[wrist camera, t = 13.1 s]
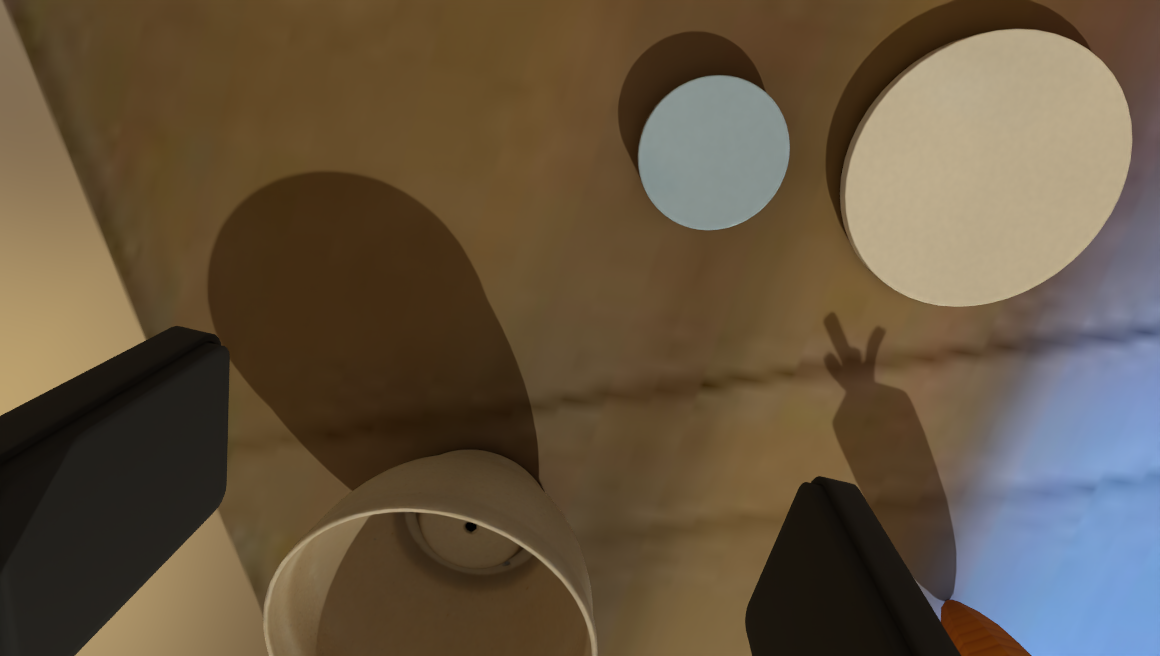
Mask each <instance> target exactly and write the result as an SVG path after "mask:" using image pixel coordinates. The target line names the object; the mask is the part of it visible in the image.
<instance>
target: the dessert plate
mask: <svg viewBox="0 0 1160 656" xmlns="http://www.w3.org/2000/svg"><path fill="white" fill-rule="evenodd" d="M1131 150H1132V124H1131V118H1130V113H1129V108H1128V104H1127V102H1126V99H1125V96H1124V94H1123V91H1122V89H1121V87H1120V85H1119V83H1118V82H1117V80H1116V78H1115V77H1114V75H1113V73H1112V72H1111V71H1110V70H1109V69H1108V67H1107V66H1106V65H1105V64H1104V63H1103V61H1102V60H1100V59H1099V58H1098V57H1097V56H1096V55H1094V54H1093V53H1092V52H1091V51H1090V50H1089V49H1087V48H1085V47H1084V46H1082V45H1080V44H1078V43H1077V42H1075V41H1073V40H1071V39H1069V38H1066V37H1063V36H1061V35H1058V34H1055V33H1051V32H1046V31H1041V30H1035V29H1018V28H1016V29H1004V30H995V31H989V32H984V33H980V34H975V35H971V36H967V37H964V38H961V39H958V40H956V41H953V42H950V43H948V44H946V45H944V46H942V47H939V48H937V49H935V50H933V51H931V52H930V53H928V54H926V55H925V56H923V57H922V58H920V59H919V60H917V61H916V62H914V63H912V64H911V65H910V66H909V67H908V68H906V69H905V70H904V71H903V72H901V73H900V74H899V75H898V76H896V78H895V79H894V80H893V81H892V82H891V83H890V84H889V85H888V86H887V87H886V88H885V89H884V90H883V91H882V92H881V93H880V94H879V96H878V97H877V98H876V99H875V101H874V102H873V103H872V105H871V106H870V107H869V109H868V110H867V112H866V113H865V115H864V117H863V118H862V120H861V122H860V123H859V125H858V127H857V129H856V131H855V133H854V136H853V138H852V140H851V142H850V145H849V148H848V151H847V154H846V157H845V160H844V165H843V170H842V175H841V186H840V204H841V214H842V218H843V223H844V227H845V230H846V233H847V236H848V239H849V241H850V243H851V245H852V247H853V249H854V251H855V252H856V254H857V256H858V257H859V258H860V260H861V261H862V262H863V264H864V265H865V266H866V267H867V268H868V269H869V270H870V271H871V272H872V273H873V274H874V275H875V276H876V277H877V278H878V279H880V280H881V281H883V282H884V283H885V284H887V285H888V286H890V287H891V288H893V289H894V290H896V291H898V292H900V293H902V294H904V295H906V296H907V297H910V298H913V299H916V300H919V301H921V302H925V303H930V304H935V305H941V306H955V307H958V306H975V305H981V304H987V303H992V302H996V301H999V300H1003V299H1007V298H1010V297H1012V296H1015V295H1017V294H1020V293H1022V292H1025V291H1027V290H1029V289H1031V288H1033V287H1035V286H1037V285H1038V284H1040V283H1042V282H1044V281H1045V280H1047V279H1048V278H1050V277H1051V276H1053V275H1054V274H1056V273H1057V272H1059V271H1060V270H1061V269H1063V268H1064V267H1065V266H1066V265H1068V264H1069V263H1070V262H1071V261H1072V260H1074V259H1075V258H1076V257H1077V256H1078V255H1079V254H1080V253H1081V252H1082V251H1083V250H1084V249H1085V248H1086V247H1087V246H1088V245H1089V243H1090V242H1091V241H1092V240H1093V238H1094V237H1095V236H1096V235H1097V234H1098V232H1099V231H1100V230H1101V228H1102V227H1103V225H1104V224H1105V222H1106V221H1107V219H1108V217H1109V216H1110V214H1111V213H1112V211H1113V209H1114V207H1115V205H1116V203H1117V201H1118V199H1119V197H1120V194H1121V191H1122V189H1123V186H1124V183H1125V180H1126V177H1127V173H1128V169H1129V164H1130V160H1131Z"/></svg>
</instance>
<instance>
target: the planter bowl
mask: <svg viewBox="0 0 1160 656" xmlns="http://www.w3.org/2000/svg"><path fill="white" fill-rule="evenodd" d="M468 522H472V523H474V524H476V529H475V530H474V531H472V532H471V531H469V530H467V529H466V527H465V525H466V523H468ZM263 623H264V635H265V642H266V645H267V650H268V654H269V656H597V635H596V628H595V622H594V618H593V608H592V595H591V588H590V582H589V577H588V573H587V569H586V565H585V561H584V558H583V555H582V552H581V549H580V546H579V544H578V541H577V539H576V537H575V535H574V533H573V531H572V529H571V527H570V525H569V524H568V522H567V520H566V519H565V517H564V515H563V514H562V512H561V511H560V510H559V508H558V507H557V506H556V504H555V503H554V502H553V501H552V500H551V499H550V497H549V496H548V495H547V494H546V493H545V492H544V491H543V490H542V489H541V487H540V486H539V484H538V483H537V481H536V480H535V479H534V478H533V477H532V476H531V475H530V474H529V473H528V472H527V471H526V470H525V469H524V468H522V467H521V466H520V465H518V464H517V463H515V462H513V461H512V460H510V459H508V458H505V457H503V456H501V455H498V454H495V453H491V452H487V451H482V450H456V451H451V452H447V453H444V454H441V455H436V456H430V457H424V458H420V459H416V460H413V461H410V462H406V463H404V464H401V465H398V466H396V467H393V468H391V469H389V470H387V471H385V472H383V473H381V474H379V475H377V476H375V477H373V478H372V479H370V480H368V481H367V482H365V483H363V484H362V485H361V486H359V487H358V488H356V489H355V490H353V491H352V492H351V493H350V494H348V495H347V496H346V497H345V498H343V499H342V500H341V501H340V502H339V503H338V504H337V505H335V506H334V507H333V508H332V509H331V510H330V511H329V512H328V513H327V514H326V515H325V516H324V517H323V518H322V519H321V520H320V521H319V523H318V524H317V525H316V526H315V527H314V528H313V529H311V530H310V531H309V532H308V533H306V534H305V535H304V536H303V537H302V538H301V539H300V540H299V541H298V542H297V543H296V544H295V546H294V547H293V548H292V549H291V550H290V551H289V552H288V554H287V555H286V556H285V558H284V559H283V560H282V562H281V563H280V565H279V566H278V568H277V569H276V571H275V573H274V575H273V577H272V580H271V582H270V584H269V587H268V590H267V593H266V598H265V603H264V614H263Z"/></svg>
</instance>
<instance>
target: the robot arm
mask: <svg viewBox="0 0 1160 656" xmlns="http://www.w3.org/2000/svg"><path fill="white" fill-rule="evenodd" d="M229 360H230V357H229V351H228V349H227V348H226V347H225V346H221V342H220V340H219V338H218V337H217V336H216V335H214V334H210V333H206V332H202V331H197V330H193V329H189V328H185V327H180V326H175V327H171V328H169V329H167V330H165V331H163V332H161V333H160V334H158V335H156V336H154V337H152V338H150V339H148V340H146V341H144V342H142V343H140V344H138V345H136V346H134V347H133V348H131V349H129V350H127V351H125V352H123V353H121V354H119V355H117V356H116V357H113V358H111V359H109V360H107V361H105V362H104V363H102V364H100V365H98V366H96V367H94V368H92V369H90V370H88V371H86V372H84V373H82V374H80V375H79V376H76V377H75V378H73V379H71V380H69V381H67V382H65V383H63V384H61V385H59V386H57V387H55V388H53V389H52V390H49V391H48V392H46V393H44V394H42V395H40V396H38V397H36V398H34V399H32V400H30V401H28V402H26V403H24V404H22V405H20V406H19V407H17V408H15V409H13V410H11V411H9V412H7V413H5V414H3V415H1V416H0V656H74V655H76V654H77V653H78V652H79V650H80V649H81V648H82V647H83V646H84V645H85V644H86V643H87V642H88V641H89V640H90V639H91V638H92V637H93V636H94V635H95V634H96V633H97V632H98V631H99V630H100V629H101V628H102V627H103V626H104V625H105V624H106V623H107V621H109V620H110V618H112V617H113V615H114V614H115V613H116V612H117V611H118V610H119V609H120V608H121V607H122V606H123V605H124V604H125V603H126V602H127V601H128V600H129V599H130V598H131V597H132V596H133V595H134V594H135V593H136V592H137V591H138V590H139V588H141V587H142V586H143V585H144V583H146V581H147V580H148V579H149V578H150V577H151V576H152V575H153V574H154V573H155V572H156V571H157V570H158V569H159V568H160V567H161V566H162V565H163V564H164V563H165V562H166V561H167V560H168V559H169V558H170V557H171V556H172V555H173V554H174V553H175V551H177V550H178V549H179V547H180V546H181V545H182V544H183V543H184V542H185V541H186V540H187V539H188V538H189V537H190V536H191V535H192V534H193V533H194V532H195V531H196V530H197V529H198V528H199V527H200V526H201V525H202V524H203V523H204V521H206V520H207V519H208V518H209V517H210V516H211V514H212V513H213V512H214V511H215V510H216V509H217V508H218V507H219V505H220V503H221V502H222V499H223V497H224V494H225V491H226V481H227V441H228V401H229ZM745 625H746V632H747V636H748V640H749V644H750V648H751V652H752V656H961V654H960V653H959V651H958V649H957V648H956V646H955V645H954V643H953V641H952V640H951V638H950V636H949V635H948V633H947V632H946V630H945V628H944V627H943V625H942V623H941V622H940V620H939V619H938V617H937V615H936V614H935V612H934V610H933V609H932V607H931V606H930V604H929V602H928V601H927V599H926V597H925V596H924V594H923V593H922V591H921V589H920V588H919V586H918V584H917V583H916V581H915V580H914V578H913V576H912V575H911V573H910V571H909V570H908V568H907V567H906V565H905V563H904V562H903V560H902V558H901V557H900V555H899V554H898V552H897V550H896V549H895V547H894V545H893V544H892V542H891V541H890V539H889V537H888V536H887V534H886V532H885V531H884V529H883V528H882V526H881V524H880V523H879V521H878V519H877V518H876V516H875V515H874V513H873V511H872V510H871V508H870V506H869V505H868V503H867V502H866V500H865V498H864V497H863V495H862V493H861V492H860V490H859V489H858V487H857V486H856V485H854V484H851V483H847V482H842V481H838V480H834V479H830V478H825V477H821V476H818V477H816V478H815V479H814V480H813V481H812V482H811V483H808V482H805V483H803V484H802V485H801V486H800V487H799V489H798V491H797V493H796V496H795V498H794V500H793V503H792V505H791V507H790V510H789V512H788V514H787V516H786V519H785V521H784V523H783V526H782V528H781V530H780V532H779V535H778V537H777V539H776V542H775V544H774V546H773V549H772V551H771V553H770V555H769V558H768V560H767V562H766V565H765V567H764V569H763V572H762V574H761V576H760V578H759V581H758V583H757V585H756V588H755V590H754V592H753V594H752V597H751V599H750V601H749V604H748V607H747V611H746V618H745Z"/></svg>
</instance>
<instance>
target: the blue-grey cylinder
mask: <svg viewBox="0 0 1160 656" xmlns="http://www.w3.org/2000/svg"><path fill="white" fill-rule="evenodd" d="M789 153H790V142H789V133H788V129H787V125H786V122H785V119H784V116H783V115H782V113H781V111H780V109H779V107H778V106H777V104H776V103H775V102H774V100H773V99H772V98H771V97H770V96H769V95H768V94H767V93H766V92H765V91H764V90H762V89H761V88H760V87H758V86H757V85H755V84H753V83H751V82H750V81H747V80H744V79H742V78H739V77H734V76H729V75H709V76H704V77H699V78H696V79H693V80H690V81H687V82H685V83H683V84H681V85H679V86H677V87H676V88H674V89H673V90H671V91H670V92H668V93H667V94H666V95H665V96H664V97H663V98H662V99H661V100H660V101H659V102H658V103H657V104H656V105H655V107H654V108H653V109H652V111H651V112H650V114H649V115H648V117H647V119H646V121H645V123H644V125H643V128H642V131H641V134H640V138H639V143H638V151H637V161H638V169H639V174H640V177H641V181H642V184H643V187H644V189H645V191H646V193H647V195H648V196H649V198H650V200H651V201H652V203H653V204H654V205H655V206H656V207H657V209H659V210H660V211H661V212H662V213H663V214H664V215H665V216H667V217H668V218H670V219H671V220H673V221H674V222H676V223H678V224H680V225H683V226H686V227H689V228H693V229H698V230H718V229H724V228H728V227H731V226H735V225H737V224H739V223H742V222H744V221H746V220H747V219H749V218H751V217H752V216H754V215H755V214H756V213H758V212H759V211H760V210H761V209H762V208H763V207H764V206H765V205H766V204H767V203H768V202H769V201H770V200H771V199H772V197H773V196H774V195H775V193H776V192H777V190H778V188H779V187H780V185H781V183H782V180H783V178H784V176H785V173H786V169H787V166H788V161H789Z"/></svg>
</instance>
